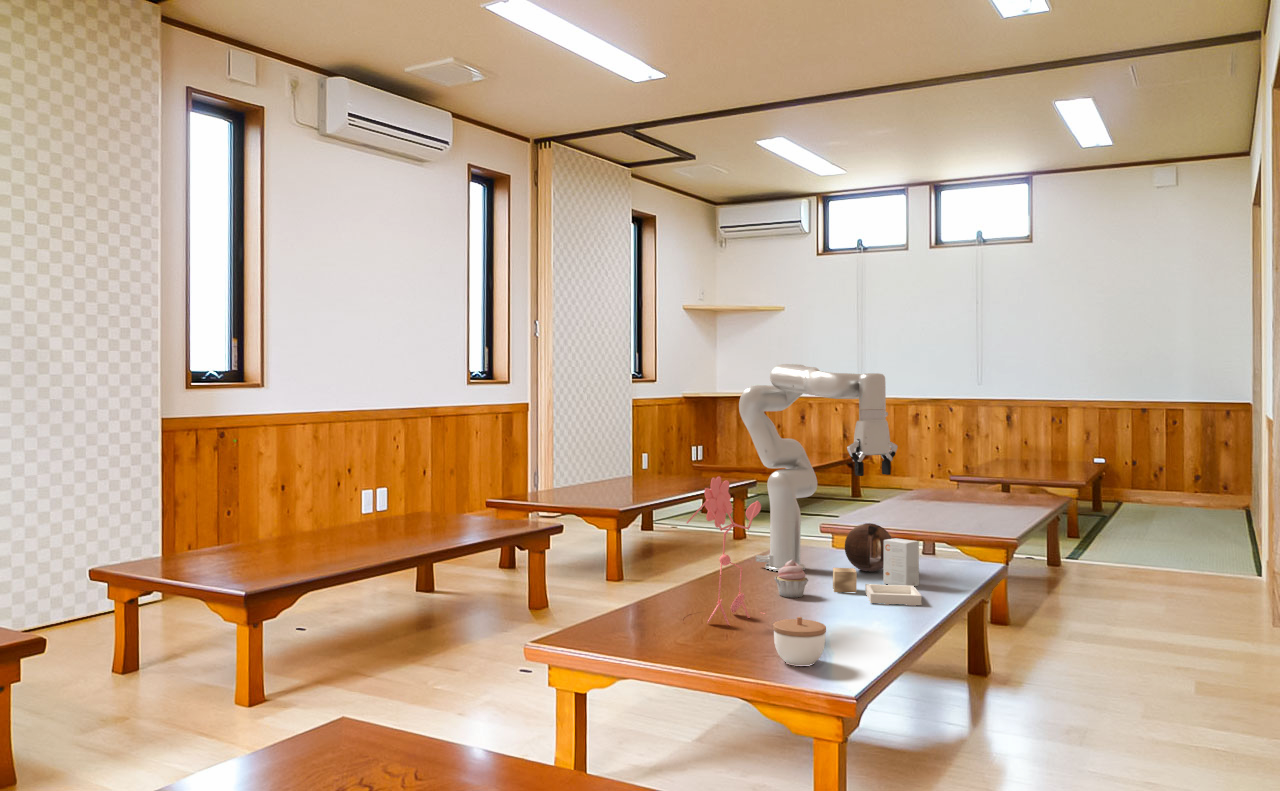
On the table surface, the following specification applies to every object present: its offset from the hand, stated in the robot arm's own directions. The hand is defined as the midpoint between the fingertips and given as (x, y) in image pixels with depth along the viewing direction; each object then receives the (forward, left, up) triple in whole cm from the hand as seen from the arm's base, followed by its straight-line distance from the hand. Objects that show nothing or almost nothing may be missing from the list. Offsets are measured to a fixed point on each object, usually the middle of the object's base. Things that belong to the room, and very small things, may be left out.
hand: (872, 475), depth 267 cm
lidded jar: (-24, -81, -32) cm, 90 cm away
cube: (-9, -8, -32) cm, 34 cm away
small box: (+8, +3, -32) cm, 34 cm away
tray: (+3, -17, -32) cm, 37 cm away
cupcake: (-24, -17, -32) cm, 43 cm away
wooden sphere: (+1, +23, -32) cm, 40 cm away
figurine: (-43, -46, -32) cm, 70 cm away
